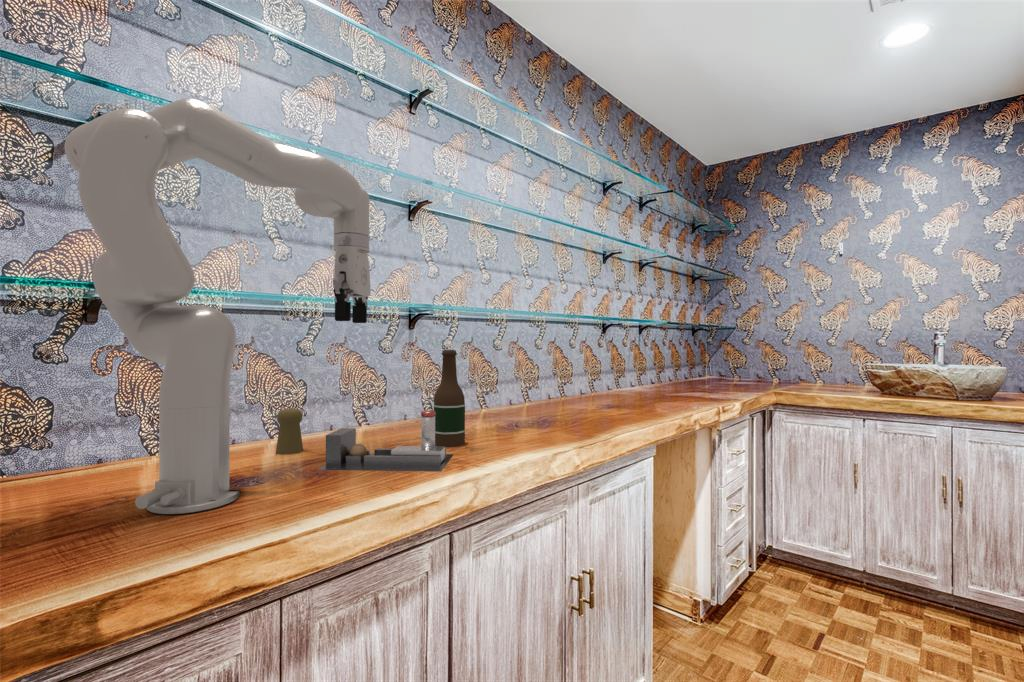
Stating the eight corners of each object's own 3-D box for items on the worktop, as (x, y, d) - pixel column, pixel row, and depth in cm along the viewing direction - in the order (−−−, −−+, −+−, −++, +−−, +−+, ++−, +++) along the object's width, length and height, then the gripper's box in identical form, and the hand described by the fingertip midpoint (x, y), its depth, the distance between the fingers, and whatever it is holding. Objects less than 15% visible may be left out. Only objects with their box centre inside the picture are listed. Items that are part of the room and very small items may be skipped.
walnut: (363, 463, 98) (363, 445, 98) (346, 463, 98) (346, 445, 98) (369, 459, 101) (369, 442, 101) (352, 459, 101) (352, 442, 101)
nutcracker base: (441, 479, 92) (441, 439, 92) (316, 477, 93) (316, 438, 93) (453, 461, 106) (453, 426, 106) (345, 459, 107) (345, 425, 107)
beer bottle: (471, 451, 116) (471, 350, 116) (441, 455, 111) (441, 350, 111) (456, 445, 122) (456, 349, 122) (427, 449, 118) (427, 349, 118)
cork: (296, 461, 105) (296, 410, 105) (269, 461, 106) (269, 410, 106) (309, 455, 111) (309, 407, 112) (282, 455, 112) (283, 407, 112)
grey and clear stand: (440, 463, 96) (440, 413, 97) (390, 462, 97) (391, 412, 97) (444, 458, 101) (444, 410, 101) (397, 457, 101) (397, 409, 101)
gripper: (353, 236, 99) (353, 320, 99) (380, 252, 116) (380, 323, 116) (317, 236, 100) (317, 320, 99) (350, 252, 117) (349, 323, 117)
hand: (351, 322), depth 108 cm, fingers open, 9 cm apart
